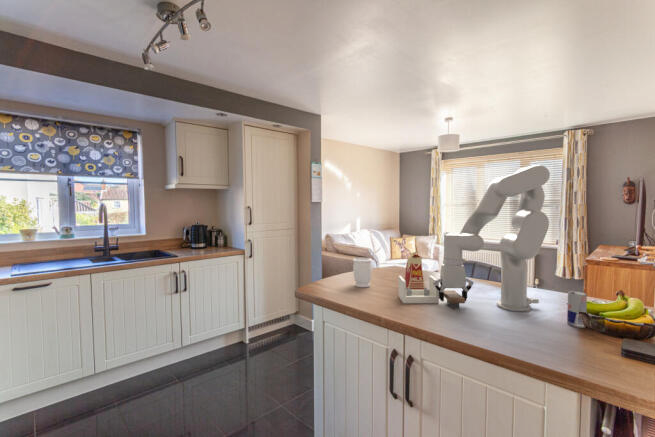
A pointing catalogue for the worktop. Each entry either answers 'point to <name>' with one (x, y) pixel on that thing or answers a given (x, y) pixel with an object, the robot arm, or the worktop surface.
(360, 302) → the worktop surface
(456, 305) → the rubber block
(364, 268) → the jar
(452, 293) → the board
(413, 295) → the peg frame
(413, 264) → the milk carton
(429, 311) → the worktop surface
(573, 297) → the energy drink
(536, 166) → the robot arm
